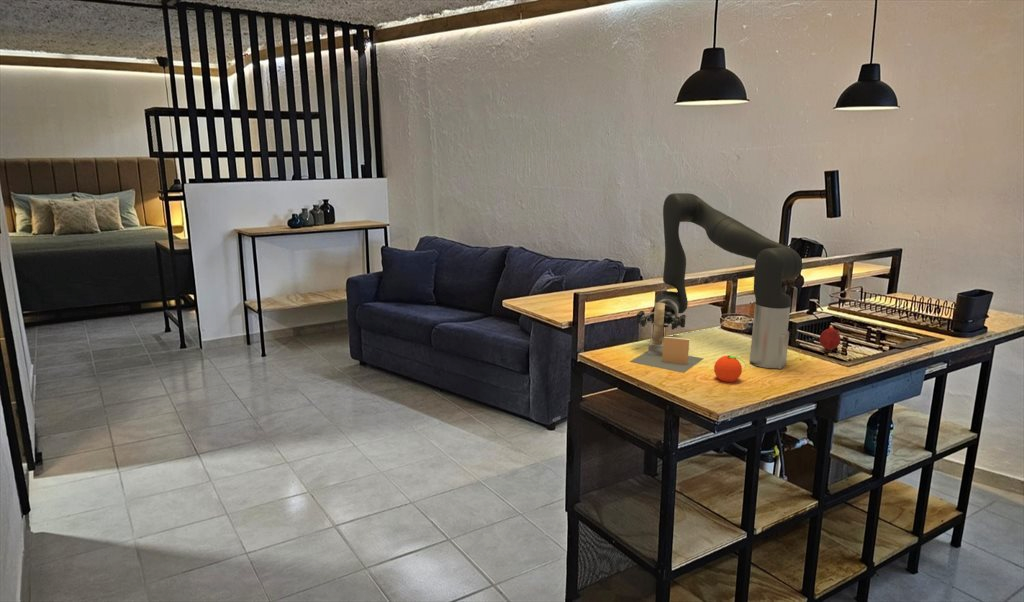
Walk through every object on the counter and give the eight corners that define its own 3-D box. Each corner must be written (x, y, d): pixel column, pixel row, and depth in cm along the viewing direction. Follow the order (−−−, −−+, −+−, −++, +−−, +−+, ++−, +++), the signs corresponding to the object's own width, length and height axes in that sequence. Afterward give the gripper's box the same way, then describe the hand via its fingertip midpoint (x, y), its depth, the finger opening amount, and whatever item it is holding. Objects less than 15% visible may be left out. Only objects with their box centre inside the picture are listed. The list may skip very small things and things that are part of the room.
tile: (687, 363, 188) (689, 339, 187) (687, 364, 187) (689, 340, 186) (662, 360, 191) (664, 336, 189) (661, 361, 189) (663, 337, 188)
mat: (703, 360, 193) (703, 358, 193) (683, 374, 180) (683, 372, 180) (651, 350, 202) (651, 348, 201) (629, 363, 189) (629, 361, 189)
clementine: (740, 377, 178) (742, 352, 177) (748, 386, 172) (750, 360, 170) (709, 377, 179) (712, 351, 177) (717, 386, 172) (719, 359, 170)
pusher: (665, 352, 198) (668, 302, 195) (663, 356, 194) (666, 305, 191) (650, 350, 200) (653, 301, 196) (648, 354, 196) (651, 304, 192)
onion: (842, 354, 201) (845, 328, 200) (823, 353, 201) (826, 327, 200) (833, 348, 207) (836, 323, 205) (815, 348, 207) (818, 323, 205)
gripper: (642, 298, 210) (634, 309, 195) (689, 302, 205) (684, 314, 191) (641, 322, 212) (632, 334, 197) (687, 326, 207) (682, 339, 192)
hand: (657, 324), depth 194 cm, fingers open, 8 cm apart
